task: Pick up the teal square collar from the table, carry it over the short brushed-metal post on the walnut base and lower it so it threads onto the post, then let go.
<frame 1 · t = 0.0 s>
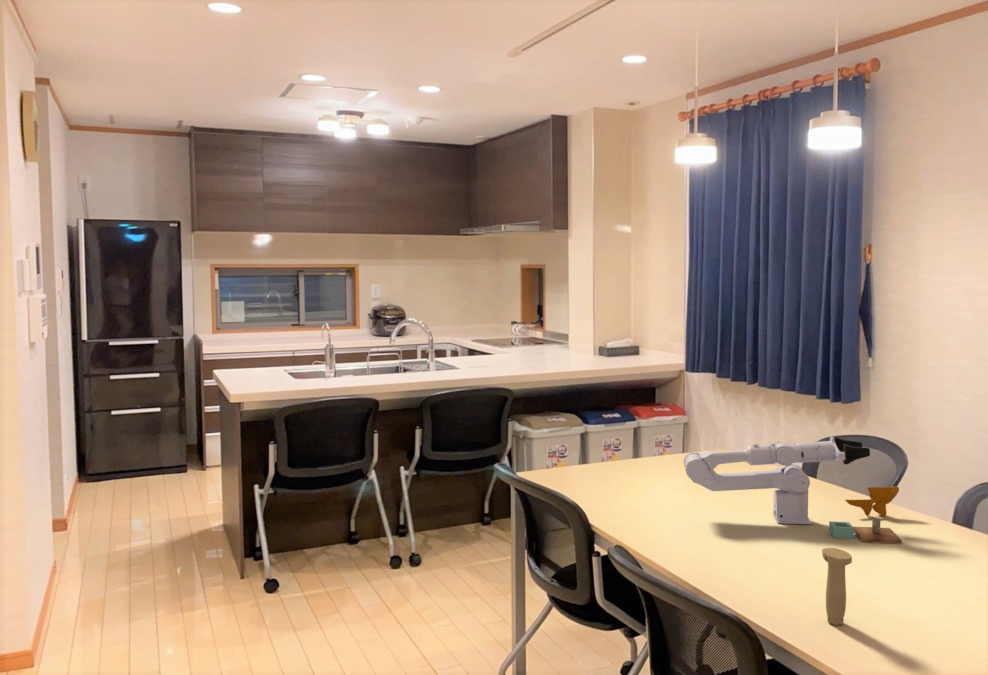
hand: (865, 448, 230), 22 cm above the table, tool horizontal, fingers open, 7 cm apart
toy: (871, 516, 238), on the table
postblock: (875, 536, 220), on the table
collar: (841, 535, 222), on the table
handle: (835, 623, 168), on the table
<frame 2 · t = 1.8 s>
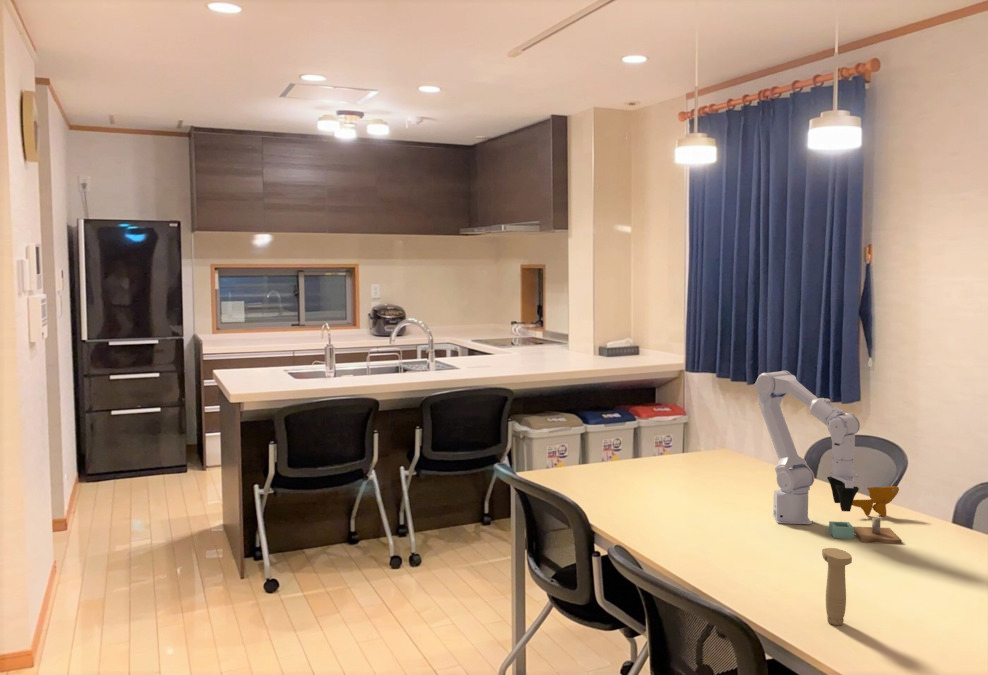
hand: (842, 506, 221), 8 cm above the table, tool pointing down, fingers open, 7 cm apart
nothing on the table moved.
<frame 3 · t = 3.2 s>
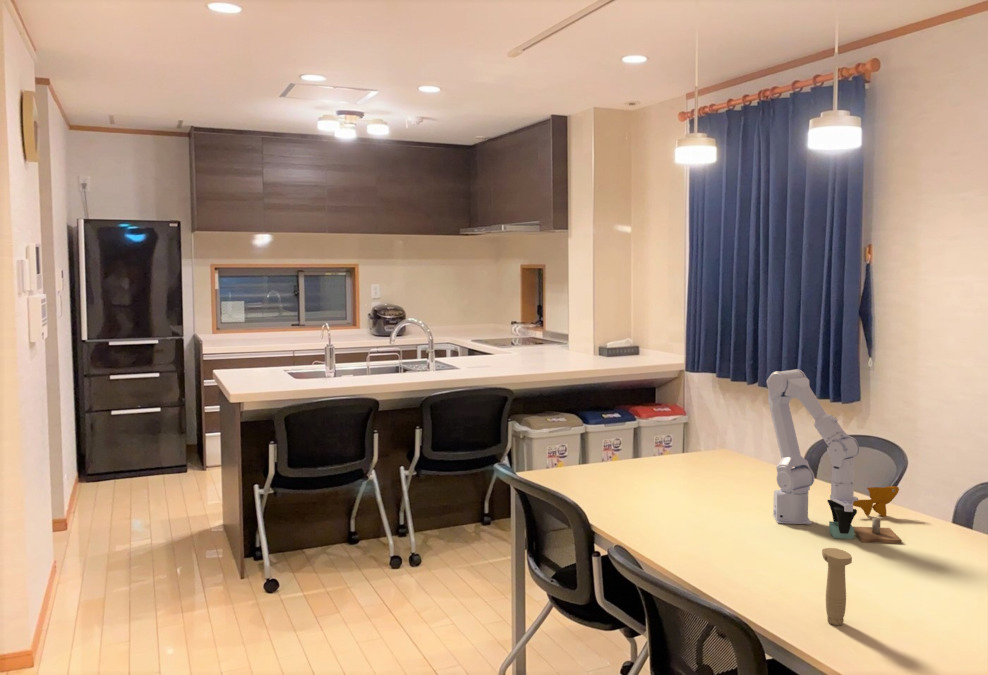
hand: (841, 529, 221), 2 cm above the table, tool pointing down, fingers closed on collar, 5 cm apart
collar: (841, 535, 222), on the table, touching gripper
everything else where it was.
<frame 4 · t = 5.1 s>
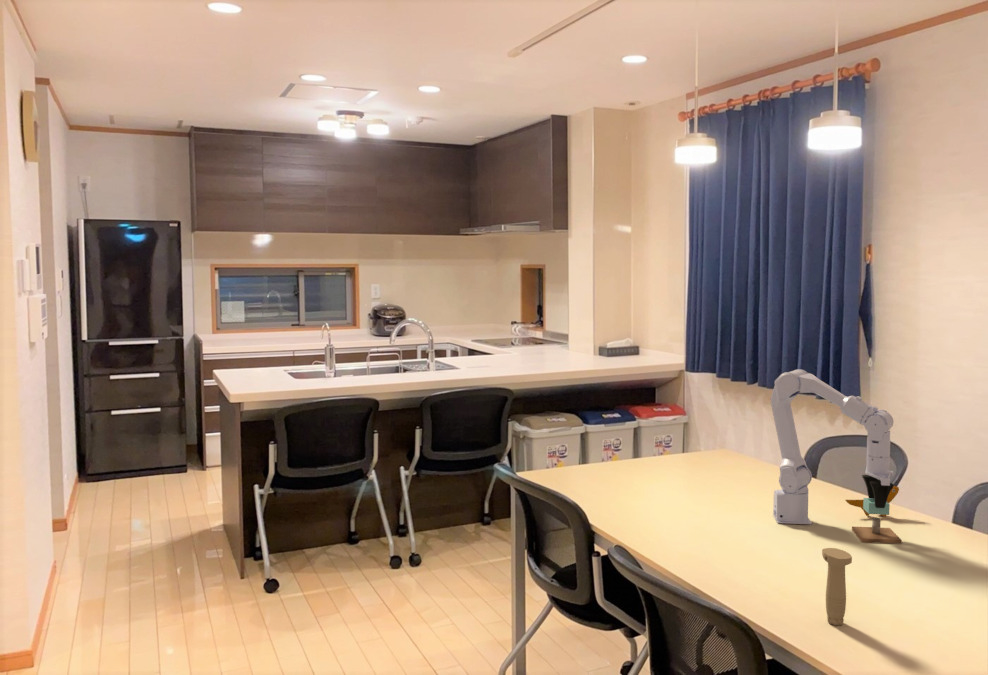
hand: (876, 504, 219), 9 cm above the table, tool pointing down, fingers closed on collar, 5 cm apart
collar: (876, 511, 219), point 7 cm above the table, touching gripper
everything else where it was.
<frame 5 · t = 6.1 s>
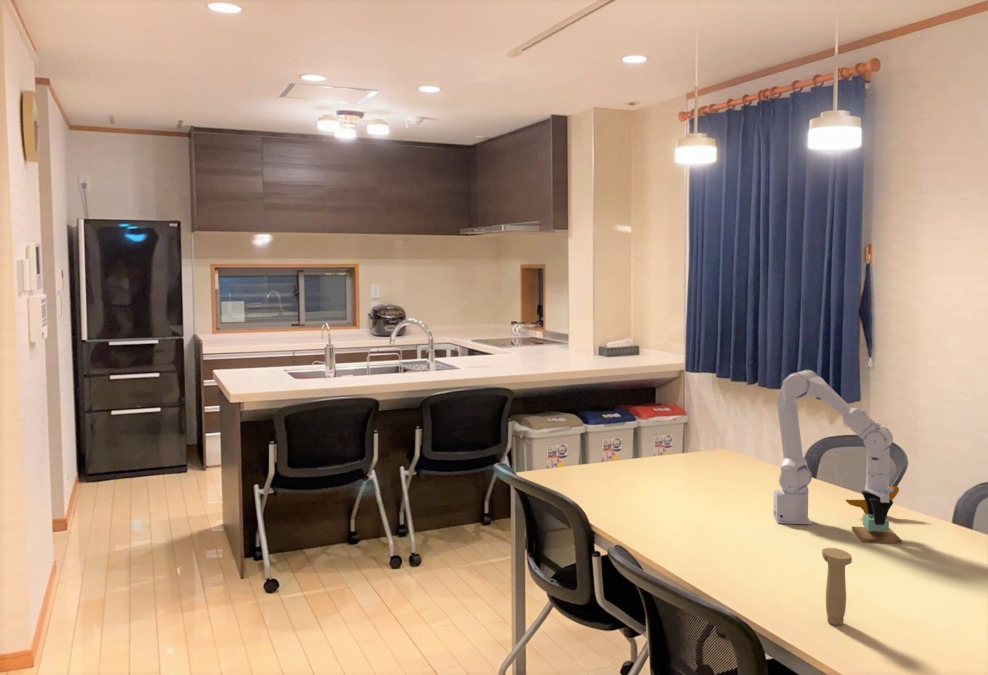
hand: (876, 520, 220), 4 cm above the table, tool pointing down, fingers closed on collar, 5 cm apart
collar: (875, 528, 220), point 2 cm above the table, touching gripper
everything else where it was.
when the fingers open (4 cm above the table, at t = 7.0 s): collar drops 1 cm, resting on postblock.
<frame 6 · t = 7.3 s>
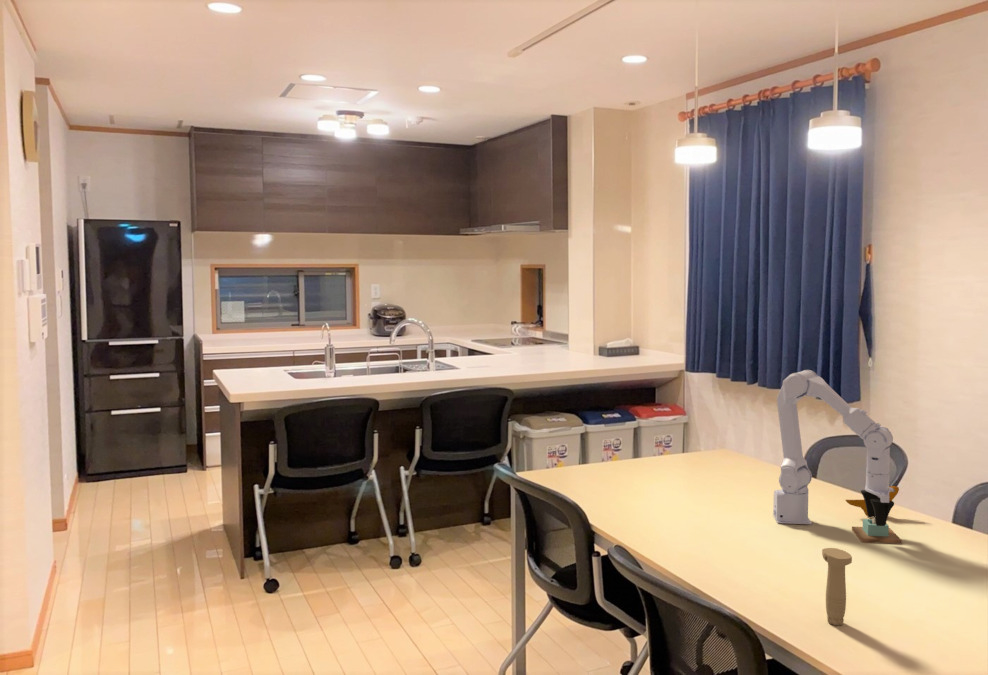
hand: (876, 520, 220), 4 cm above the table, tool pointing down, fingers open, 7 cm apart
collar: (875, 532, 220), point 1 cm above the table, touching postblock
everything else where it was.
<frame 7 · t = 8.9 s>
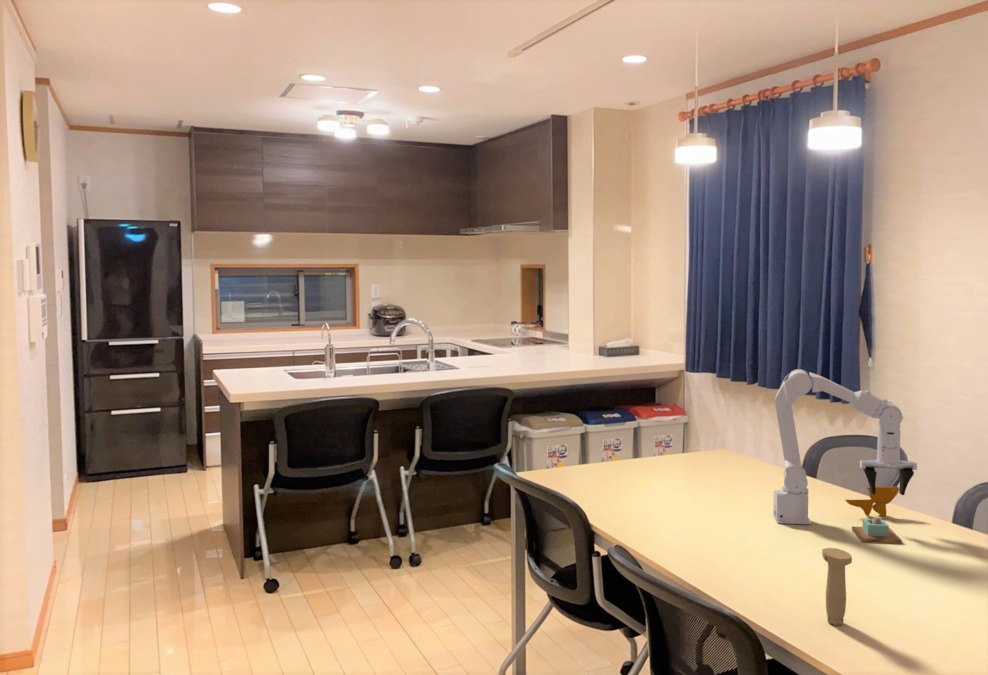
hand: (887, 493, 226), 10 cm above the table, tool pointing down, fingers open, 7 cm apart
nothing on the table moved.
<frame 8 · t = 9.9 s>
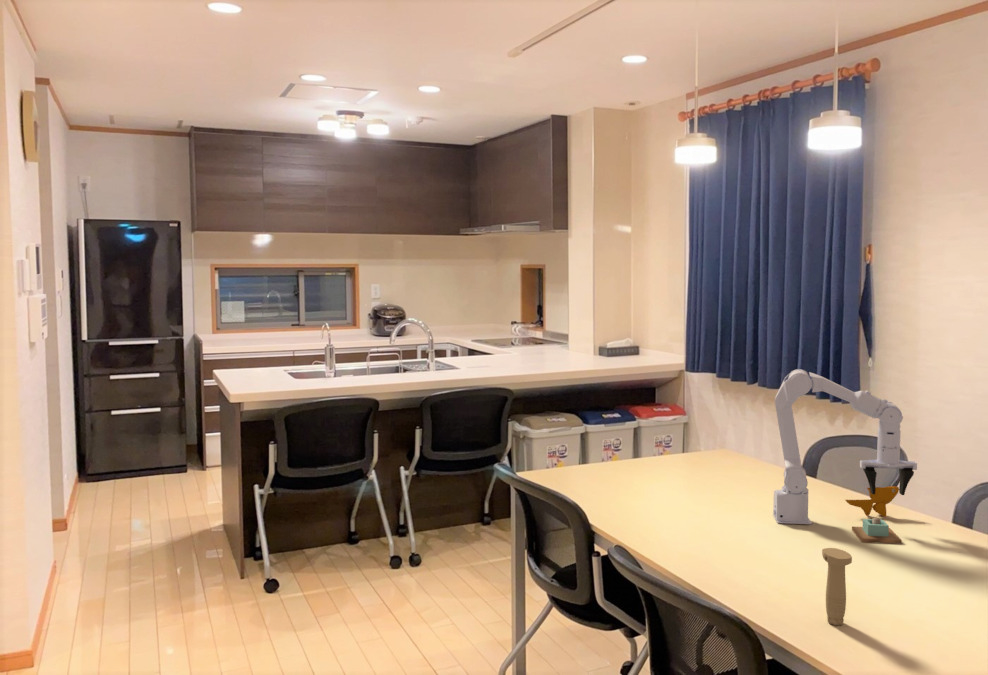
hand: (887, 493, 226), 10 cm above the table, tool pointing down, fingers open, 7 cm apart
nothing on the table moved.
at the end: collar 0.2 cm from the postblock (horizontally); collar point 1.0 cm above the table; the gripper is holding nothing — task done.
